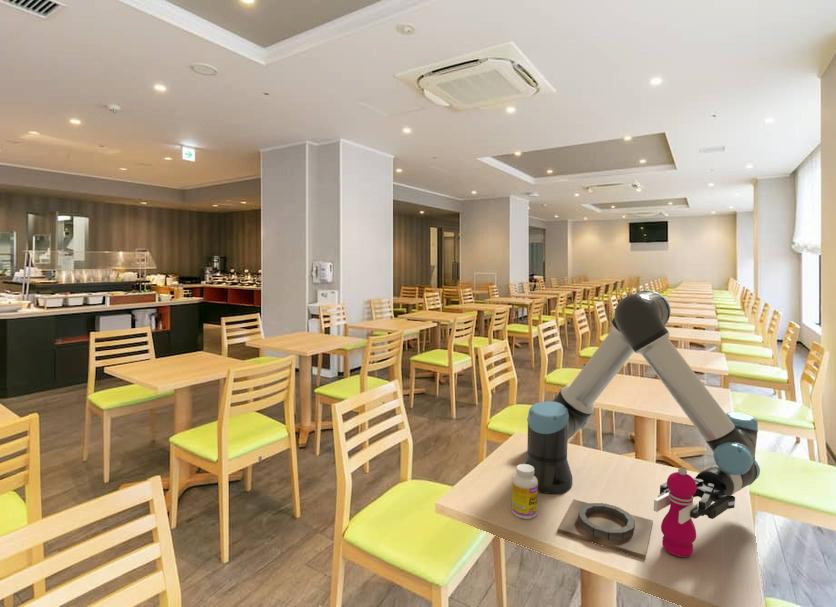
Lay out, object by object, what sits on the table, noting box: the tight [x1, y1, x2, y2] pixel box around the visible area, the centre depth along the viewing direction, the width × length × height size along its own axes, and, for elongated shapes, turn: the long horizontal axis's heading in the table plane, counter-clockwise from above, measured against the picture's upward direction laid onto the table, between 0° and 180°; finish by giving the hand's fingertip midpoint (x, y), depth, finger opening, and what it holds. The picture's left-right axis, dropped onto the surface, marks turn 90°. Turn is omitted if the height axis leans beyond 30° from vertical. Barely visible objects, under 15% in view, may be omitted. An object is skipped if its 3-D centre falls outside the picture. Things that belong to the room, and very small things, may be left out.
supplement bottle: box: [511, 463, 538, 520], centre depth 126 cm, size 7×7×13 cm
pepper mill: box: [660, 466, 697, 558], centre depth 109 cm, size 7×7×20 cm
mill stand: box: [557, 498, 654, 560], centre depth 119 cm, size 20×16×3 cm
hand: (667, 511), depth 106 cm, fingers closed on pepper mill, 5 cm apart
